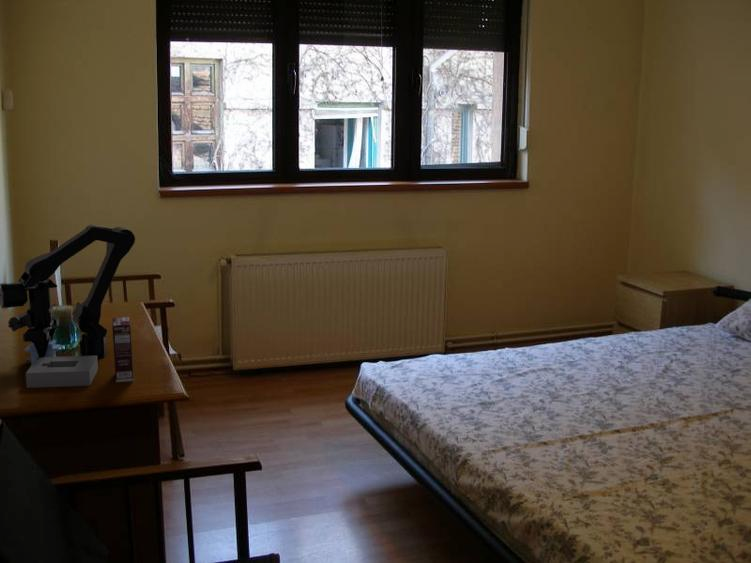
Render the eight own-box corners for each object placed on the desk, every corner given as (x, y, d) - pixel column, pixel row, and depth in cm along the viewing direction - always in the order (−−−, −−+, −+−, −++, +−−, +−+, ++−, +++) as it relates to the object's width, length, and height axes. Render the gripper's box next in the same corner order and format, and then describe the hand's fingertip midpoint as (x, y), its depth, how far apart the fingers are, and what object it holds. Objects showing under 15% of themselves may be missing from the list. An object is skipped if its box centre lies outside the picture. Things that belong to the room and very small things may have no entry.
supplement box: (114, 373, 247) (111, 317, 244) (132, 371, 248) (130, 316, 245) (115, 383, 239) (112, 325, 235) (133, 381, 240) (131, 324, 237)
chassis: (97, 369, 250) (97, 355, 249) (90, 385, 237) (89, 371, 236) (38, 371, 248) (37, 357, 247) (26, 387, 234) (25, 373, 233)
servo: (61, 360, 258) (60, 340, 257) (59, 364, 254) (57, 344, 253) (28, 361, 257) (27, 341, 255) (25, 365, 253) (23, 345, 251)
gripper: (17, 297, 259) (21, 348, 263) (1, 312, 241) (5, 368, 245) (57, 296, 261) (60, 347, 264) (44, 311, 243) (48, 366, 246)
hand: (43, 357), depth 255 cm, fingers closed on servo, 4 cm apart
